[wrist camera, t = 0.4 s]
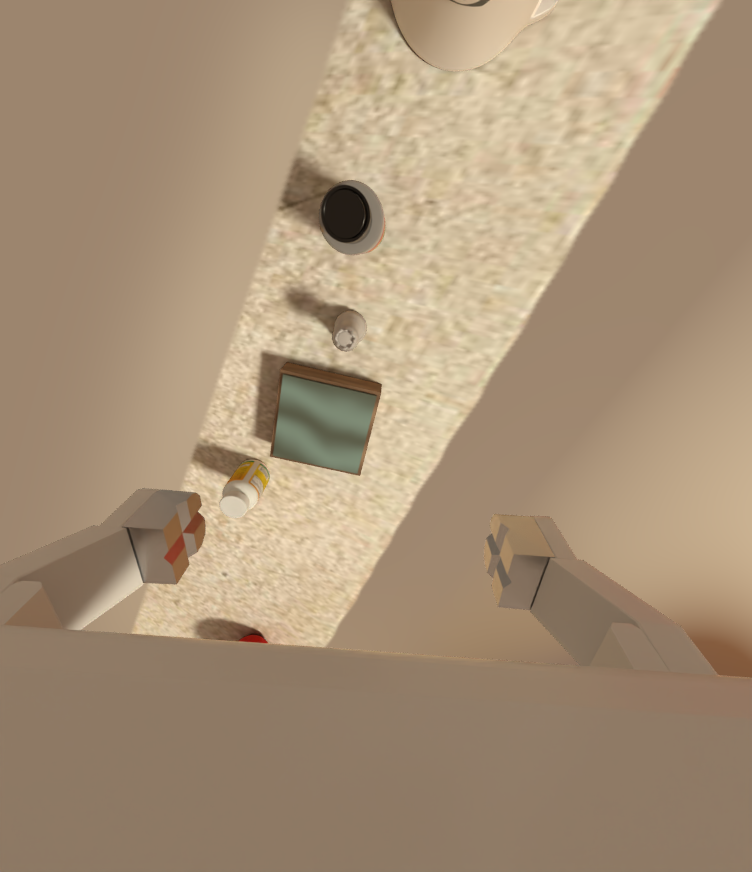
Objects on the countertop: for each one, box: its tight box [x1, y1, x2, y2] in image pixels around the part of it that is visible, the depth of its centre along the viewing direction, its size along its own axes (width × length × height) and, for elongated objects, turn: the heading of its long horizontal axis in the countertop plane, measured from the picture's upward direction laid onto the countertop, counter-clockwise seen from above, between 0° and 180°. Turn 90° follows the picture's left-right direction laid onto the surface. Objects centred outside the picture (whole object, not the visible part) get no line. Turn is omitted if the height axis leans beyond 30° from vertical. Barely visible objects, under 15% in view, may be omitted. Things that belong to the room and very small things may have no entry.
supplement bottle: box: [220, 459, 270, 518], centre depth 58 cm, size 5×5×10 cm
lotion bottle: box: [319, 180, 385, 255], centre depth 37 cm, size 6×6×20 cm
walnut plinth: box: [270, 362, 382, 476], centre depth 55 cm, size 14×14×4 cm
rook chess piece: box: [332, 310, 367, 351], centre depth 47 cm, size 4×4×8 cm
